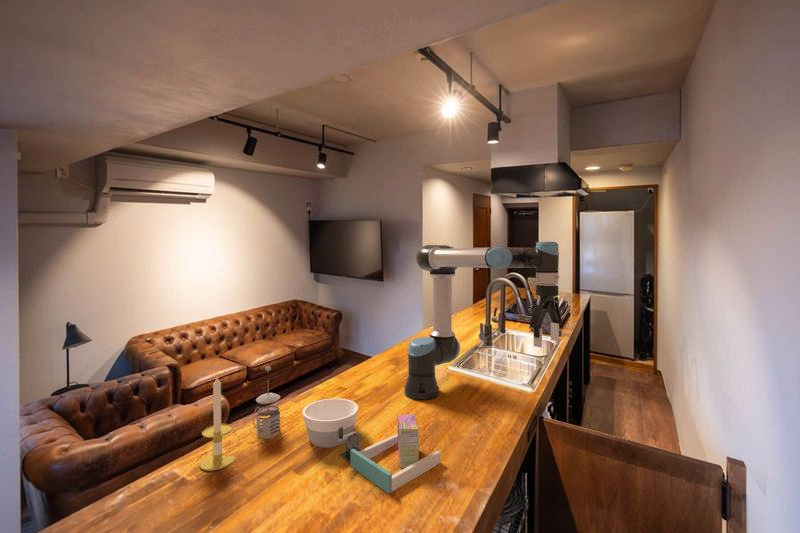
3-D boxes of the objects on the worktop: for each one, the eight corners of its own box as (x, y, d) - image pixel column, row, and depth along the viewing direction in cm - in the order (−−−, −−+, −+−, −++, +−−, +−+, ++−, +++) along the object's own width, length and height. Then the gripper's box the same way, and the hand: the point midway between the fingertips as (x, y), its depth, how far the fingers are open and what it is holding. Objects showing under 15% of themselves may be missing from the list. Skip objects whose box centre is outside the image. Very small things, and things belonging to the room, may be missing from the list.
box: (397, 450, 118) (397, 414, 118) (414, 449, 118) (414, 414, 118) (399, 468, 107) (400, 429, 107) (418, 467, 108) (418, 428, 108)
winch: (333, 459, 112) (333, 425, 112) (355, 449, 118) (355, 417, 118) (344, 467, 108) (344, 432, 108) (366, 457, 114) (366, 423, 113)
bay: (350, 466, 108) (350, 450, 108) (401, 442, 123) (401, 427, 123) (388, 493, 96) (388, 475, 96) (440, 463, 110) (440, 447, 110)
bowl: (309, 460, 112) (309, 425, 112) (297, 433, 129) (297, 404, 129) (366, 445, 121) (366, 413, 121) (348, 422, 138) (347, 394, 138)
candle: (231, 468, 107) (230, 379, 107) (194, 472, 105) (193, 381, 105) (238, 451, 117) (238, 369, 117) (205, 454, 115) (204, 371, 114)
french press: (288, 432, 130) (288, 363, 129) (267, 448, 119) (266, 373, 118) (266, 428, 133) (266, 361, 132) (243, 443, 122) (242, 370, 121)
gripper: (541, 287, 117) (540, 351, 118) (571, 283, 134) (571, 339, 135) (519, 285, 123) (519, 347, 123) (551, 282, 140) (551, 336, 140)
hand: (546, 343), depth 129 cm, fingers open, 13 cm apart
